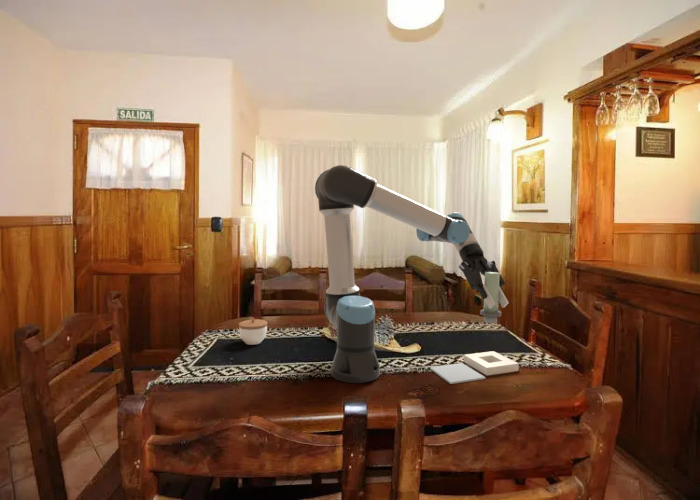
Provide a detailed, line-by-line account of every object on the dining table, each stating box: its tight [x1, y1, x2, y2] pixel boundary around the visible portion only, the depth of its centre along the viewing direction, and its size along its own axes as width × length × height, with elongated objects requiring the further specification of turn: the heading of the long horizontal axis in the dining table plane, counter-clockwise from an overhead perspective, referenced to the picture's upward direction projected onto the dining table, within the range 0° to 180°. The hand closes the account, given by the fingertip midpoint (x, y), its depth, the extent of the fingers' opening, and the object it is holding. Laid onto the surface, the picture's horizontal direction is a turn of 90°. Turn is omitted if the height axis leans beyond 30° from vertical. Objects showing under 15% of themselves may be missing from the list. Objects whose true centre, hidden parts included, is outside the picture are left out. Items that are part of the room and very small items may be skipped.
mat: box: [429, 362, 486, 385], centre depth 121 cm, size 12×12×1 cm
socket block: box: [463, 350, 519, 376], centre depth 127 cm, size 12×12×2 cm
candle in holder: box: [479, 272, 502, 324], centre depth 125 cm, size 6×6×16 cm
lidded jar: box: [238, 318, 268, 346], centre depth 150 cm, size 11×11×9 cm
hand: (498, 305), depth 121 cm, fingers closed on candle in holder, 4 cm apart
